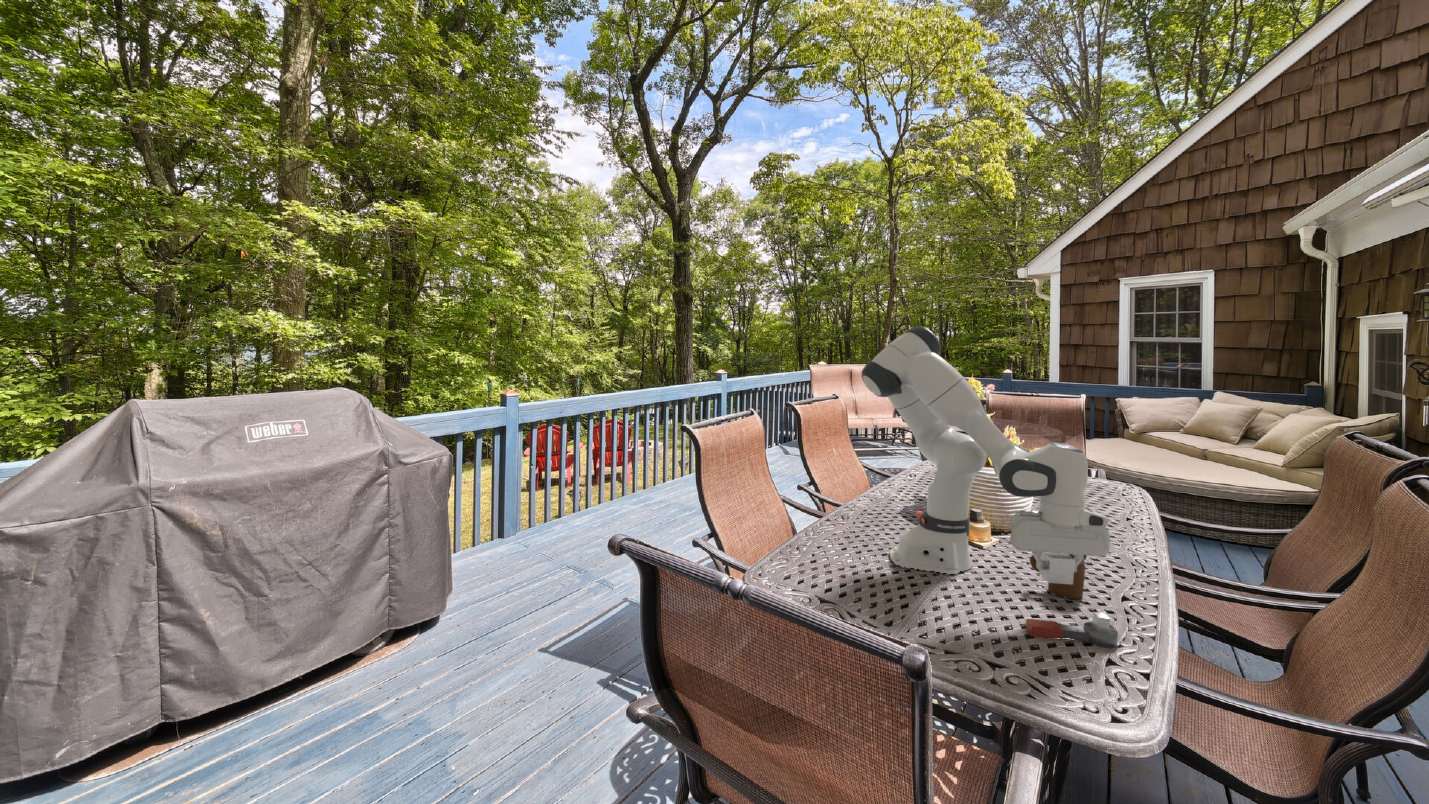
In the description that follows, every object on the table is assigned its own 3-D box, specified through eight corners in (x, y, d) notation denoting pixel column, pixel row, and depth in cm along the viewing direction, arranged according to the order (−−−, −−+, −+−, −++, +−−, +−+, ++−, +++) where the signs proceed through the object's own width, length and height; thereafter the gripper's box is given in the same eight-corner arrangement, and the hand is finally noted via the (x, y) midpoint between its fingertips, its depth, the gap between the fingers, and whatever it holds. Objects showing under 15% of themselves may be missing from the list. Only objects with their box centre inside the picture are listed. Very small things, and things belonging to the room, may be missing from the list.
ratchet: (1033, 639, 117) (1034, 615, 116) (1023, 625, 122) (1025, 602, 122) (1122, 649, 113) (1124, 624, 113) (1108, 634, 119) (1110, 610, 118)
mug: (1026, 590, 140) (1029, 555, 139) (1029, 580, 146) (1031, 546, 146) (1082, 603, 133) (1085, 566, 133) (1083, 591, 140) (1085, 556, 139)
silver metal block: (1048, 582, 125) (1050, 557, 125) (1038, 573, 130) (1040, 549, 130) (1072, 584, 124) (1075, 559, 124) (1062, 575, 130) (1064, 551, 129)
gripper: (1018, 514, 124) (1013, 572, 126) (1116, 520, 121) (1110, 579, 123) (1008, 506, 130) (1003, 561, 132) (1101, 511, 127) (1095, 568, 129)
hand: (1056, 570), depth 127 cm, fingers closed on silver metal block, 5 cm apart
